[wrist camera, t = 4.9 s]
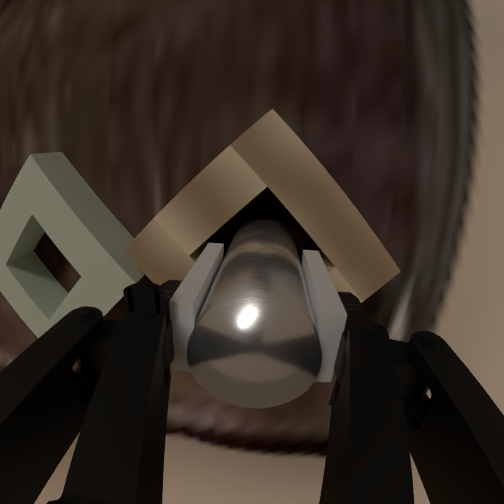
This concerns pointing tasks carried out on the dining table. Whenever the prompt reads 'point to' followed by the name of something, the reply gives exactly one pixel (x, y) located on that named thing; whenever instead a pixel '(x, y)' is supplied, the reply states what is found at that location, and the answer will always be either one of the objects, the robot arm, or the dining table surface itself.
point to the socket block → (60, 244)
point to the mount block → (248, 187)
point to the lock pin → (257, 322)
